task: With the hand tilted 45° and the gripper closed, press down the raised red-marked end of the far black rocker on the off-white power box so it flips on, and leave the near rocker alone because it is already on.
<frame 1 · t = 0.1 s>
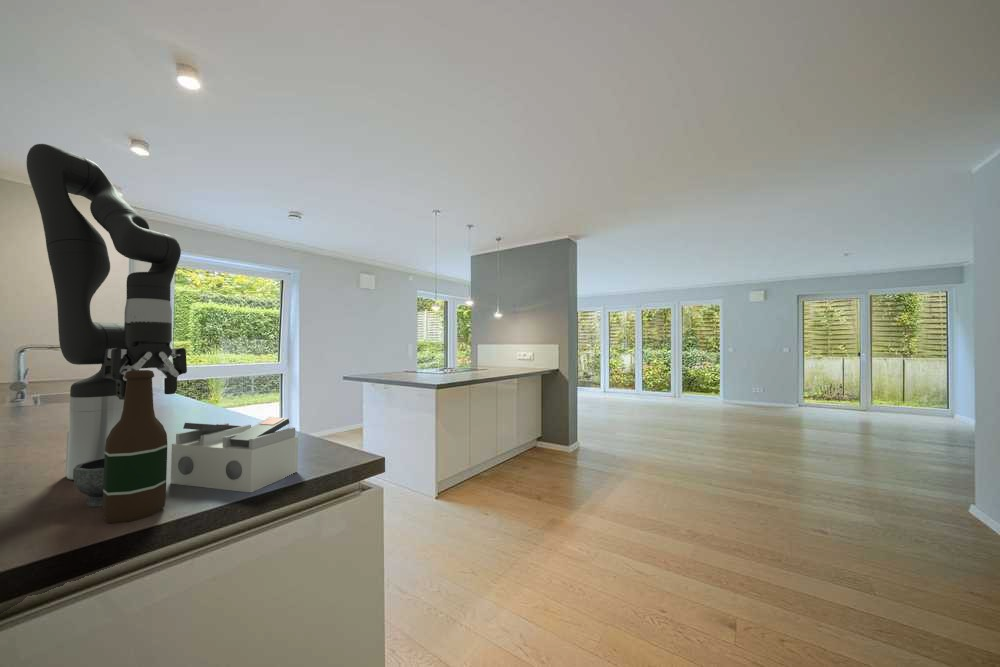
hand: (148, 396, 81), 17 cm above the counter, tool pointing down, fingers open, 8 cm apart
power box: (236, 477, 81), on the counter
near rocker: (215, 427, 82), point 10 cm above the counter, hinge at -15.0°
beer bottle: (134, 514, 63), on the counter
mortar and pestle: (115, 499, 70), on the counter
far rocker: (261, 430, 80), point 10 cm above the counter, hinge at 15.0°
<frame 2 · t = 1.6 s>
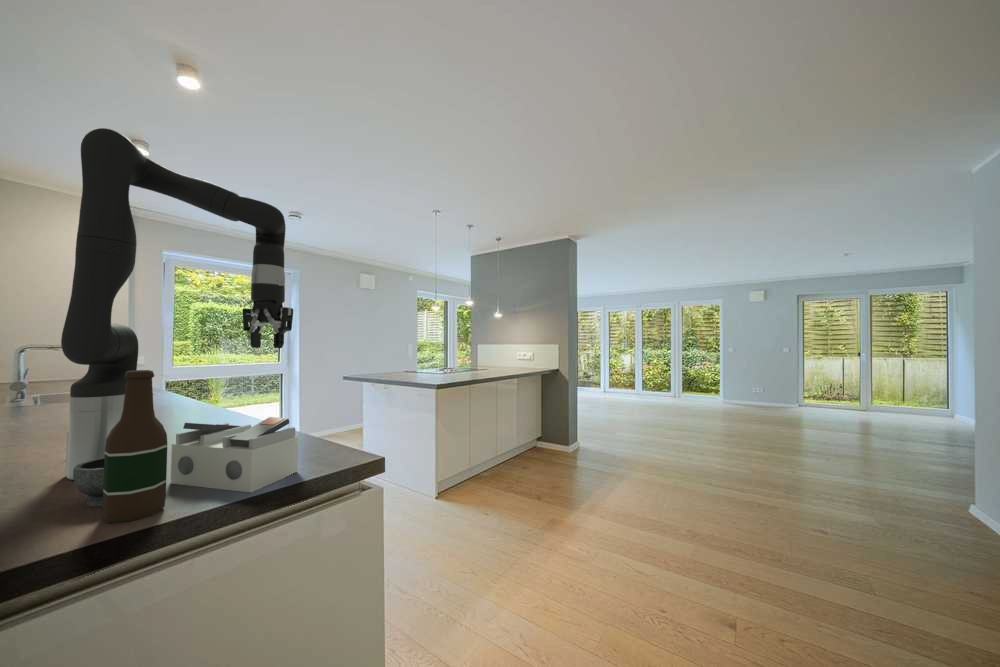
hand: (267, 347, 98), 28 cm above the counter, tool pointing down, fingers open, 6 cm apart
nothing on the counter moved.
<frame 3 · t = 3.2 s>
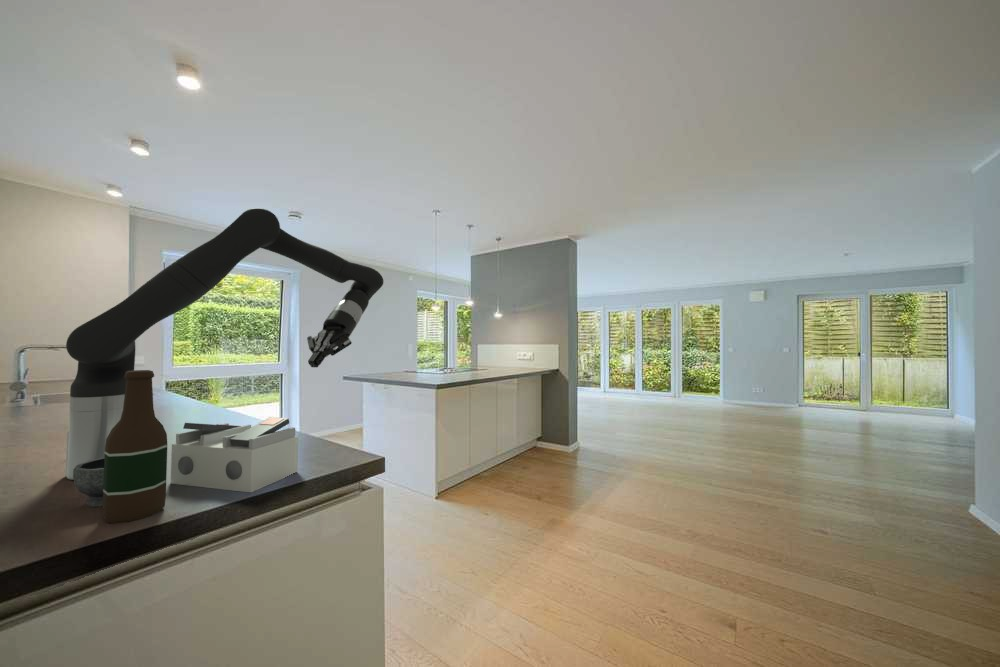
hand: (312, 365, 94), 23 cm above the counter, tool tilted 45°, fingers closed
nothing on the counter moved.
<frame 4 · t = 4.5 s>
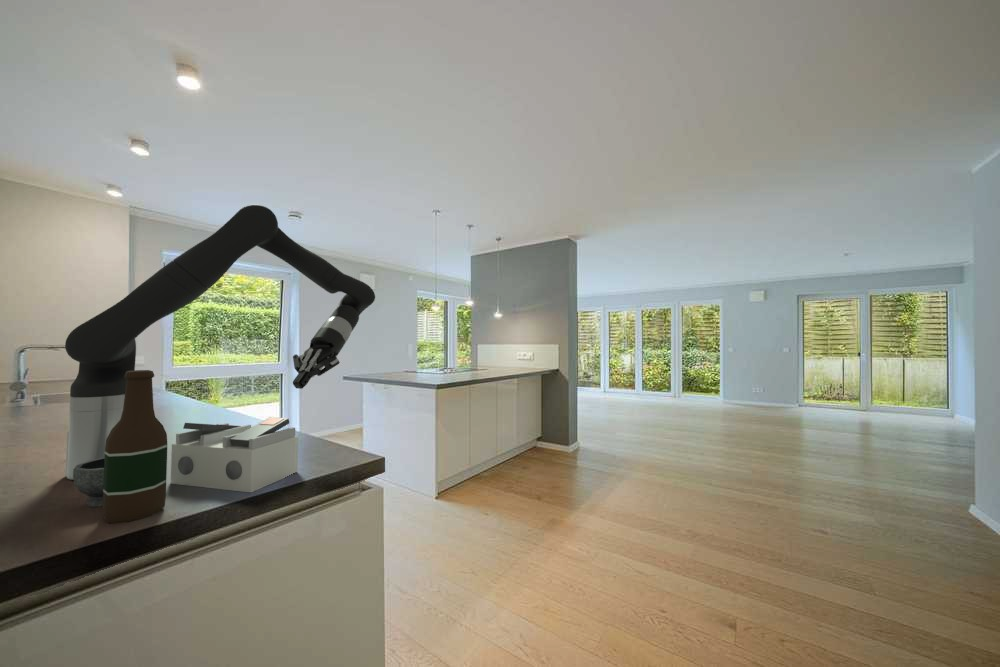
hand: (297, 386, 90), 19 cm above the counter, tool tilted 45°, fingers closed
nothing on the counter moved.
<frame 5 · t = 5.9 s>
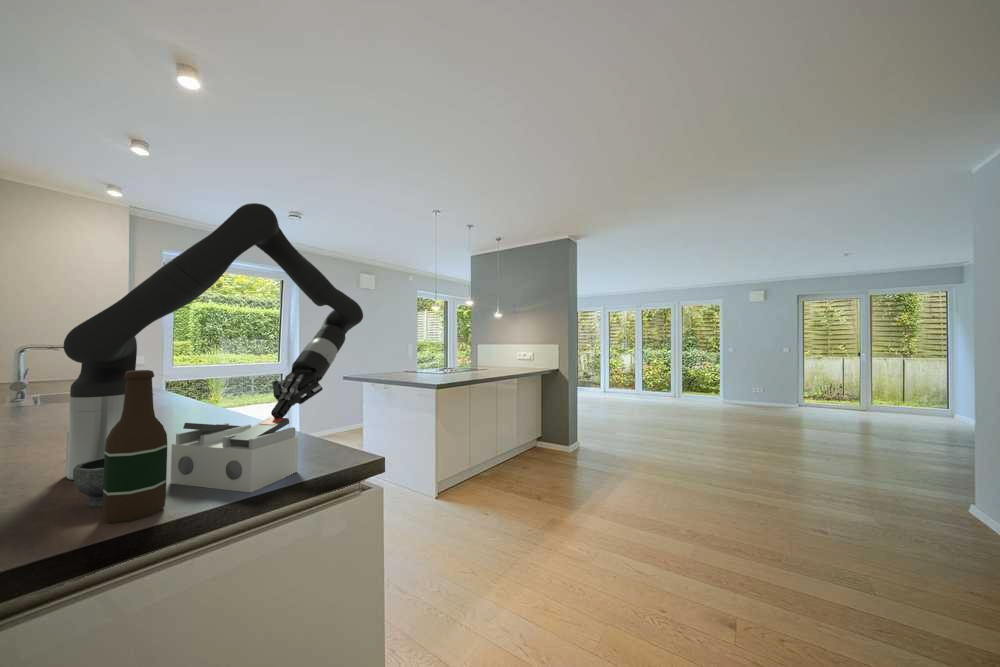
hand: (276, 416, 83), 13 cm above the counter, tool tilted 45°, fingers closed
far rocker: (261, 430, 80), point 10 cm above the counter, hinge at 14.9°, touching gripper
everything else where it was.
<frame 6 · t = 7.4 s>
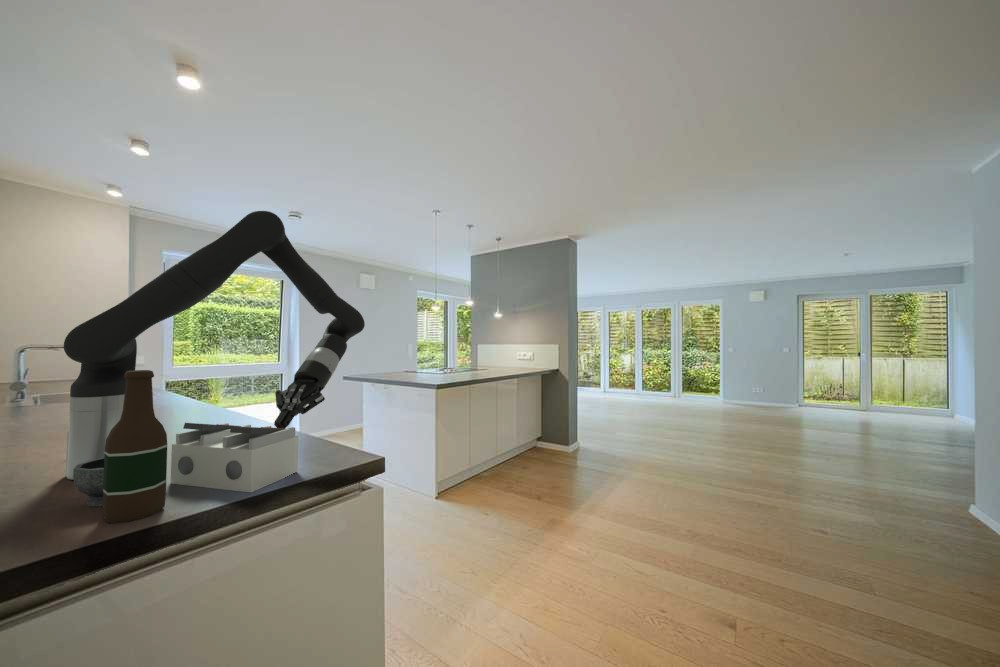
hand: (279, 427, 84), 10 cm above the counter, tool tilted 45°, fingers closed
far rocker: (261, 430, 80), point 10 cm above the counter, hinge at -13.7°
everything else where it was.
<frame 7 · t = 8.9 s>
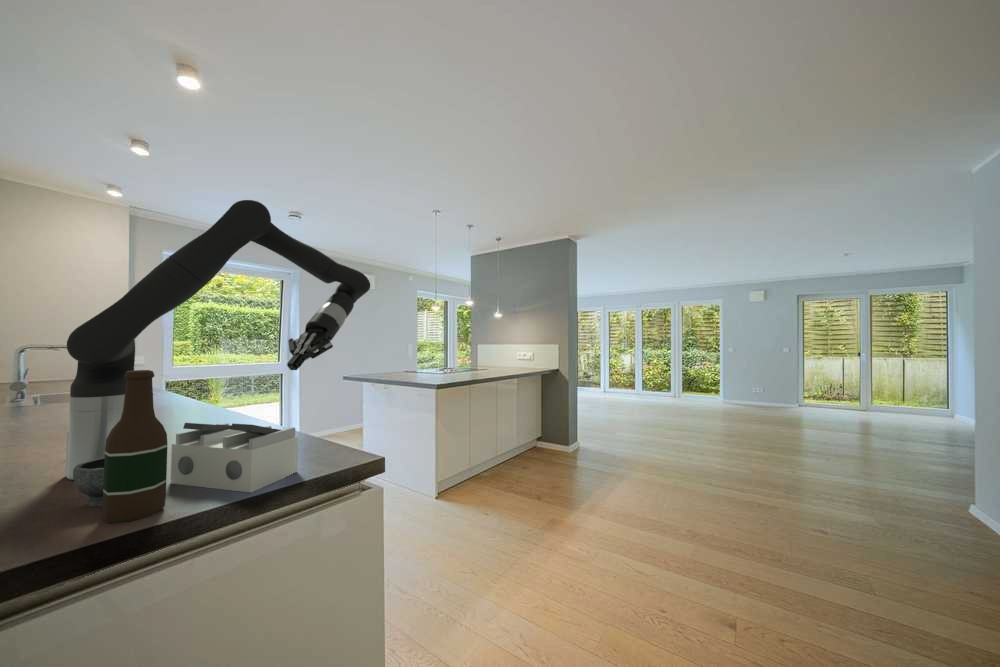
hand: (291, 367, 93), 23 cm above the counter, tool tilted 45°, fingers closed
far rocker: (261, 430, 80), point 10 cm above the counter, hinge at -20.1°
everything else where it was.
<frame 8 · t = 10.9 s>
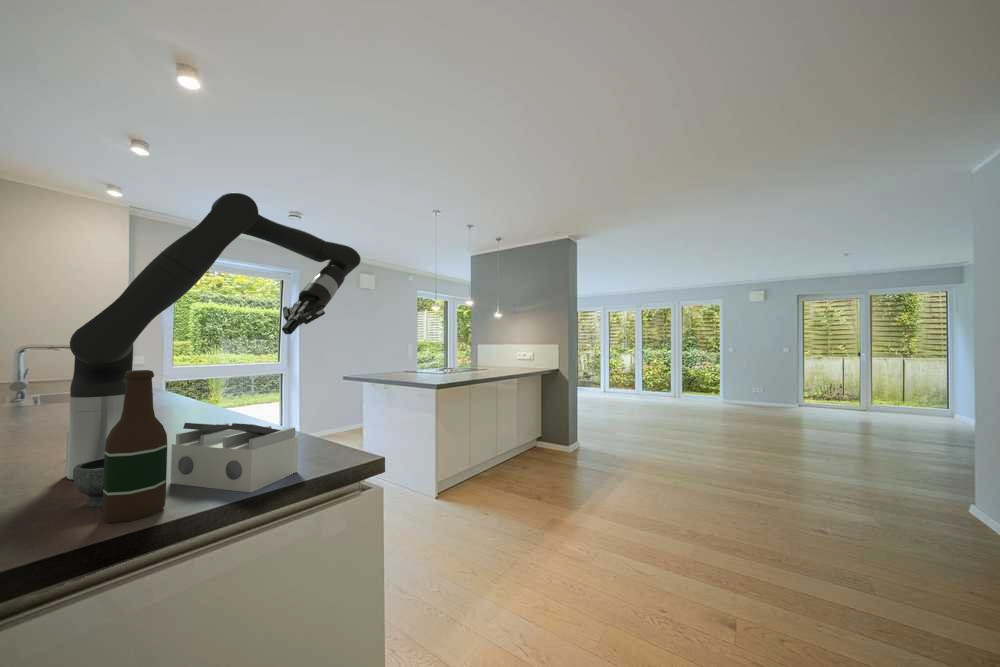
hand: (286, 332, 99), 32 cm above the counter, tool tilted 45°, fingers closed
far rocker: (261, 430, 80), point 10 cm above the counter, hinge at -20.7°, touching power box
everything else where it was.
at the end: far rocker at -21° (first picture: +15°); near rocker at -15° (first picture: -15°) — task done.
